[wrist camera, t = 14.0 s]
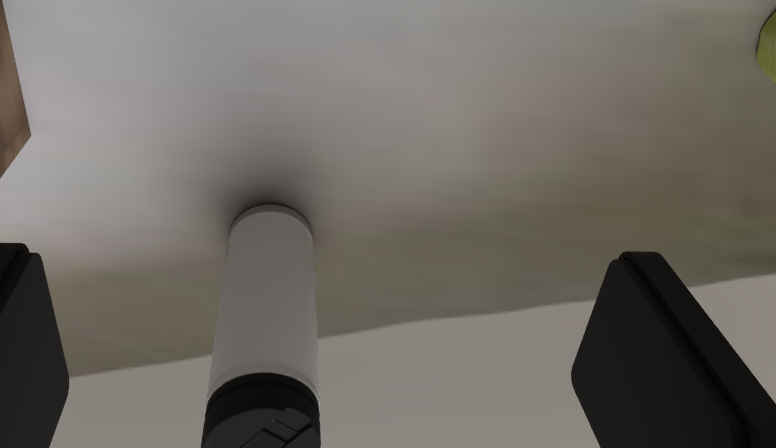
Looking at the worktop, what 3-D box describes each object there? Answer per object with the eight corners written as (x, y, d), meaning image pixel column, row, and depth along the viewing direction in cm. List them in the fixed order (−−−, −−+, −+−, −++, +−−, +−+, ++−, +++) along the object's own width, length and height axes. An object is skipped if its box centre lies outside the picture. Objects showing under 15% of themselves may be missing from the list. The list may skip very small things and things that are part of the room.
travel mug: (208, 242, 50) (167, 473, 33) (267, 187, 48) (254, 404, 31) (272, 285, 53) (262, 516, 36) (329, 235, 51) (347, 455, 34)
